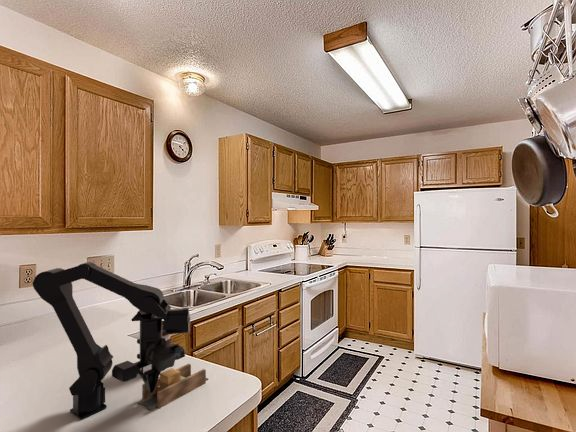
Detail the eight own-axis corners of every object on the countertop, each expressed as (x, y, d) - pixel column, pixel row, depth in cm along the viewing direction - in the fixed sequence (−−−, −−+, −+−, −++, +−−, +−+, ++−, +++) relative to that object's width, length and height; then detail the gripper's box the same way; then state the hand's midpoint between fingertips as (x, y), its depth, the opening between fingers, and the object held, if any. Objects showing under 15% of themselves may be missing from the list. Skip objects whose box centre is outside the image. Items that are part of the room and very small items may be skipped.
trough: (152, 411, 84) (152, 396, 84) (135, 402, 89) (135, 387, 89) (210, 380, 101) (210, 367, 101) (193, 373, 105) (193, 361, 105)
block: (168, 391, 91) (168, 377, 91) (159, 387, 93) (159, 373, 93) (180, 385, 94) (180, 371, 94) (171, 381, 96) (171, 368, 96)
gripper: (134, 353, 76) (134, 419, 76) (197, 331, 92) (197, 386, 92) (110, 343, 83) (110, 404, 82) (173, 324, 98) (173, 375, 98)
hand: (151, 392), depth 88 cm, fingers closed
